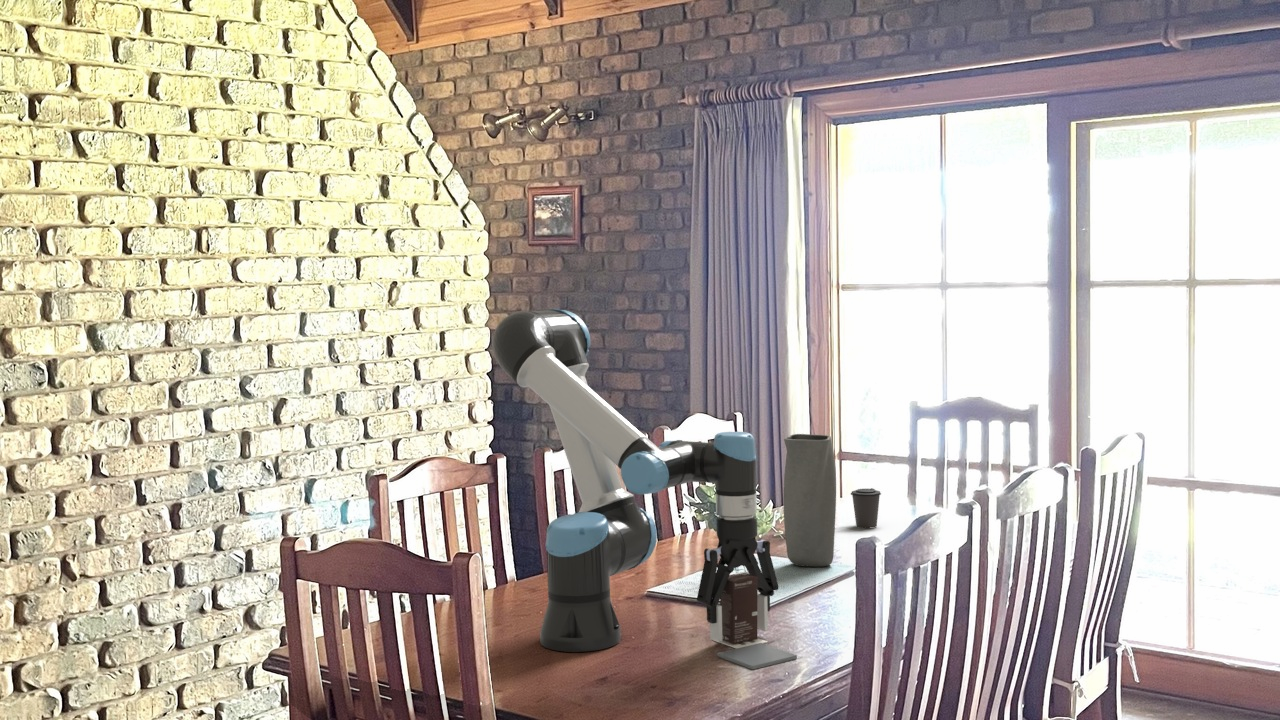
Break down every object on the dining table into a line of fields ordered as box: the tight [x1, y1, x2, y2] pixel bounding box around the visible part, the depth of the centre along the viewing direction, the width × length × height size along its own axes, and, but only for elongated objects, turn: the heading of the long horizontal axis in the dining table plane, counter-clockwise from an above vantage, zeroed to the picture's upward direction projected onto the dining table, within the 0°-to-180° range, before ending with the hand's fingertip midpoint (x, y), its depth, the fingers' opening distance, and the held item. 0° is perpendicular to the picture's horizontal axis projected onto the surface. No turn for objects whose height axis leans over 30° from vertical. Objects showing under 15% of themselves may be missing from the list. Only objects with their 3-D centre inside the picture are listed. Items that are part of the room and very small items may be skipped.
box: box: [719, 572, 759, 644], centre depth 239 cm, size 6×4×12 cm
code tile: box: [711, 637, 769, 649], centre depth 239 cm, size 7×8×1 cm
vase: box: [782, 433, 837, 568], centre depth 300 cm, size 12×12×30 cm
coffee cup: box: [850, 487, 882, 529], centre depth 343 cm, size 8×8×10 cm
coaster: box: [716, 643, 798, 670], centre depth 229 cm, size 10×10×1 cm
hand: (739, 634), depth 239 cm, fingers open, 10 cm apart
